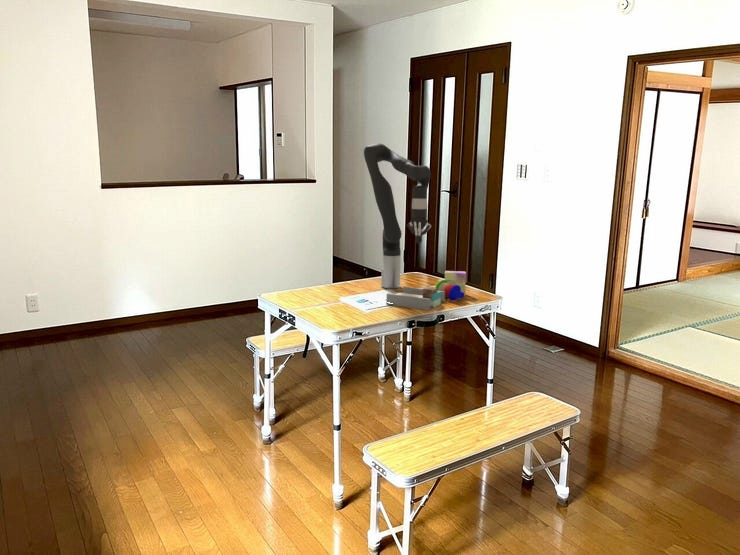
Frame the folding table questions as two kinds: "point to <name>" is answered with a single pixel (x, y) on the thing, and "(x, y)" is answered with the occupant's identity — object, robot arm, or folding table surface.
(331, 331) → the folding table surface
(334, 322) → the folding table surface
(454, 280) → the box
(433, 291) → the walnut block
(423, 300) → the trap track
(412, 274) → the folding table surface
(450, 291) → the toy figure
